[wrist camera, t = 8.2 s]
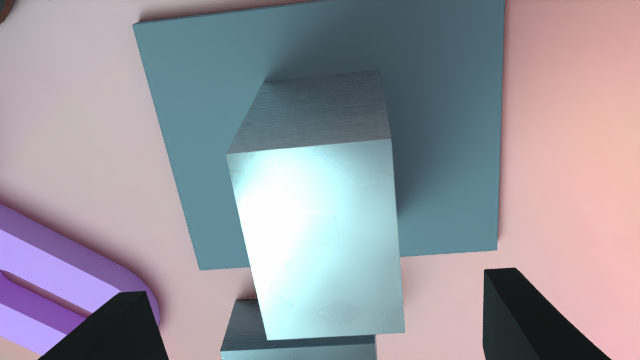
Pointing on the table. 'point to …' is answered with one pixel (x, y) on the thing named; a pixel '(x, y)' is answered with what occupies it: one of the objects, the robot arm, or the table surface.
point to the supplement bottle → (5, 8)
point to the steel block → (320, 206)
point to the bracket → (53, 282)
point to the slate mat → (334, 58)
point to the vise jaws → (286, 341)
